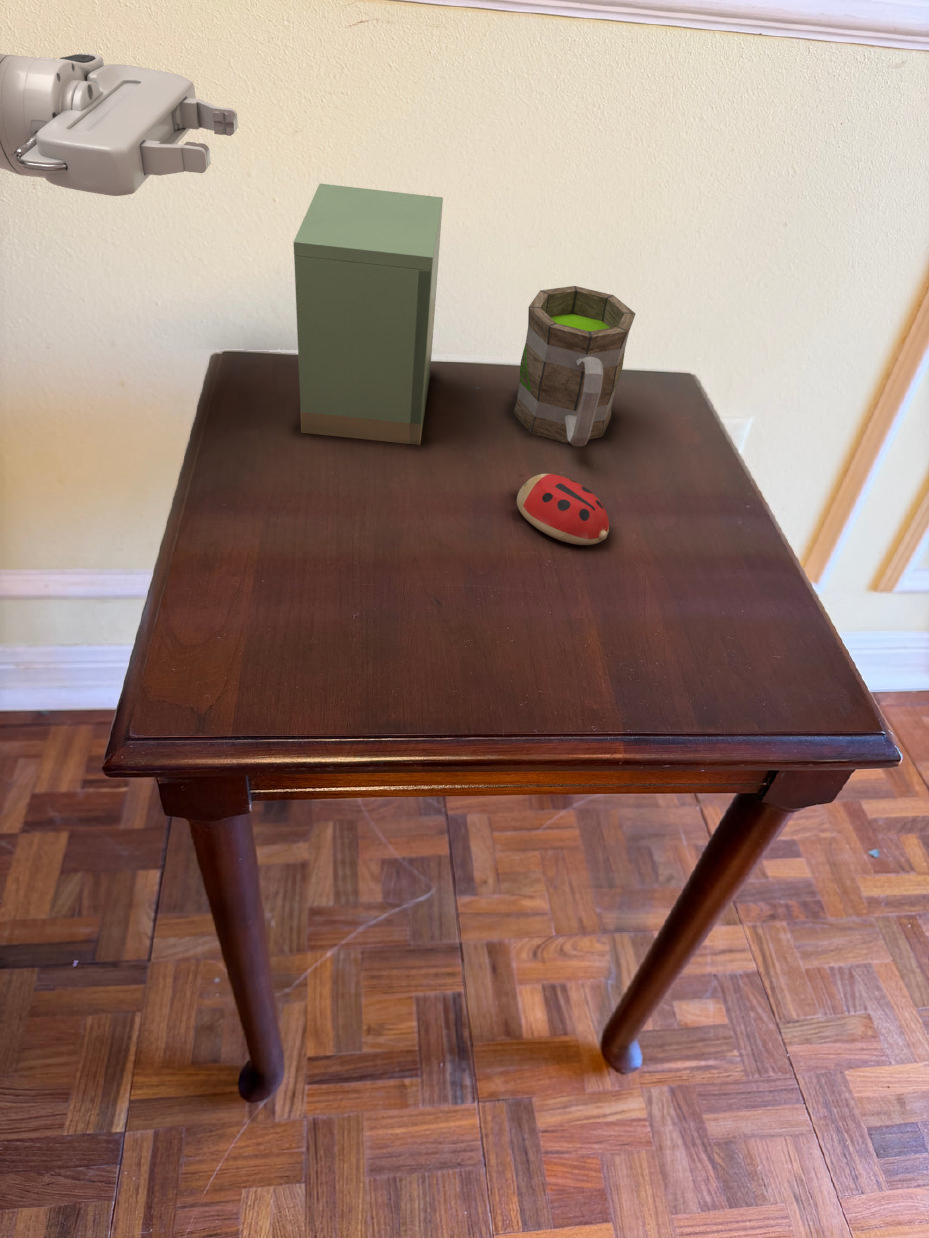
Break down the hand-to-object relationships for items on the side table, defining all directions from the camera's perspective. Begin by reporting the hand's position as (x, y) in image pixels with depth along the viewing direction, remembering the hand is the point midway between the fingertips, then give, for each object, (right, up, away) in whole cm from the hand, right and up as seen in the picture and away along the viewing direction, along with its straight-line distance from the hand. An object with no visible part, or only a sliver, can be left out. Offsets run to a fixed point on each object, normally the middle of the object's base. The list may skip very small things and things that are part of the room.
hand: (222, 140), depth 75 cm
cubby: (+10, -17, +20) cm, 28 cm away
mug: (+31, -20, +21) cm, 42 cm away
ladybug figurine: (+29, -31, +9) cm, 44 cm away
